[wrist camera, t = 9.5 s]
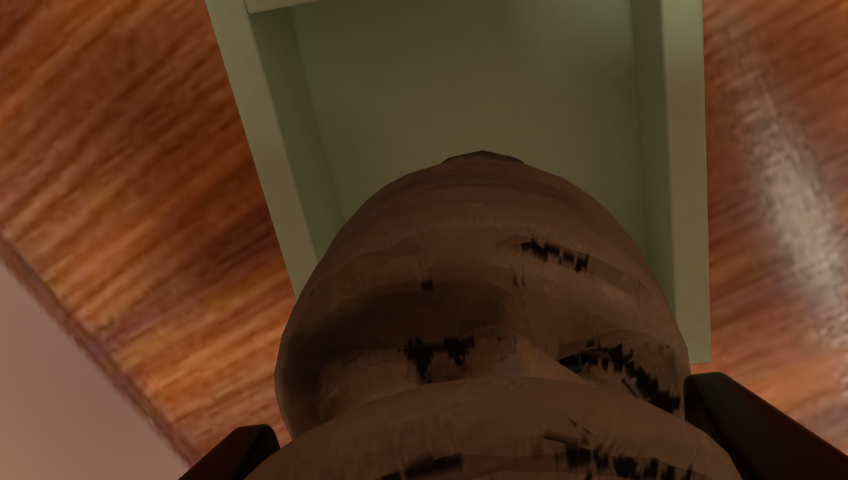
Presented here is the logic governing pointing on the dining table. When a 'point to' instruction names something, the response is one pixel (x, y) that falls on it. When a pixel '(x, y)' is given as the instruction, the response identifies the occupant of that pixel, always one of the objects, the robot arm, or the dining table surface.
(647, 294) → the brown ridged cylinder
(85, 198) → the dining table surface
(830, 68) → the dining table surface
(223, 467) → the robot arm
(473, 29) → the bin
